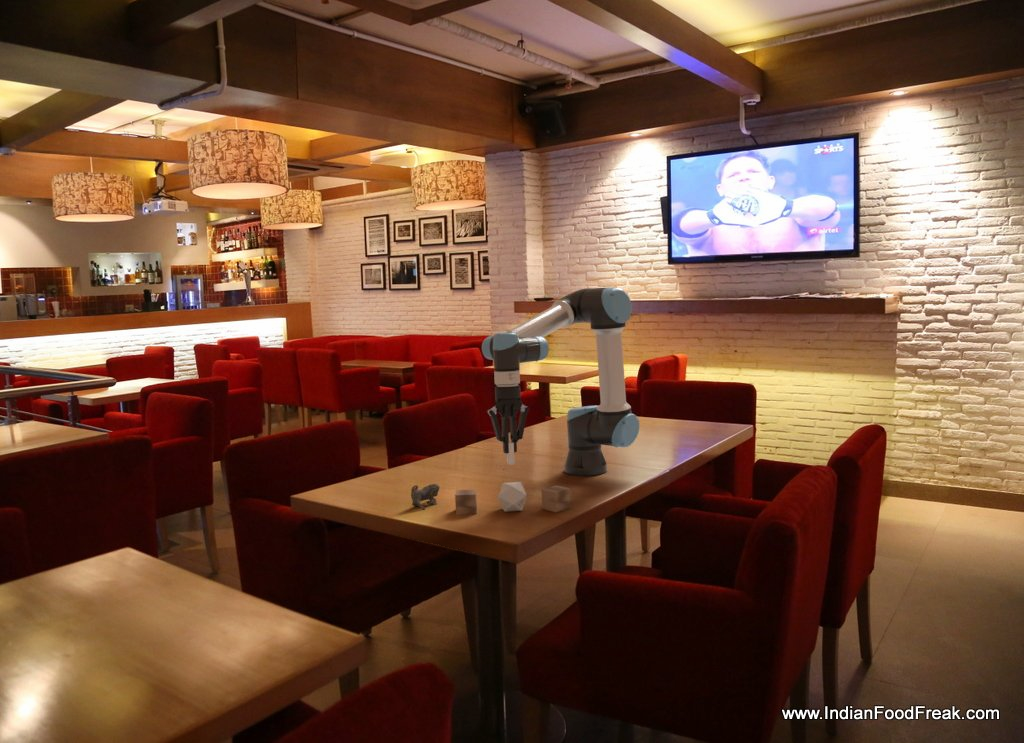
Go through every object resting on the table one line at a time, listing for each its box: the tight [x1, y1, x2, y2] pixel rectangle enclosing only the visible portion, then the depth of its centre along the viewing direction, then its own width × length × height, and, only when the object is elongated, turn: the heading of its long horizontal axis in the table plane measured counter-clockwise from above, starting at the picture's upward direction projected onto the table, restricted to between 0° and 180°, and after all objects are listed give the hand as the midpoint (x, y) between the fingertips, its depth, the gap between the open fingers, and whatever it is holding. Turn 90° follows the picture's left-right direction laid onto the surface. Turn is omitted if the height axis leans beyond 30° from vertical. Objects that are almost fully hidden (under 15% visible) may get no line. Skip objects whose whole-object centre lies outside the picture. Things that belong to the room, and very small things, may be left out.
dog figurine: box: [410, 483, 441, 510], centre depth 244 cm, size 12×6×7 cm, turn 142°
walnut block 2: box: [541, 485, 572, 513], centre depth 234 cm, size 6×6×6 cm
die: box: [497, 481, 528, 513], centre depth 235 cm, size 8×9×10 cm
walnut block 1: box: [454, 488, 478, 516], centre depth 235 cm, size 6×6×6 cm
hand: (510, 463), depth 234 cm, fingers closed
